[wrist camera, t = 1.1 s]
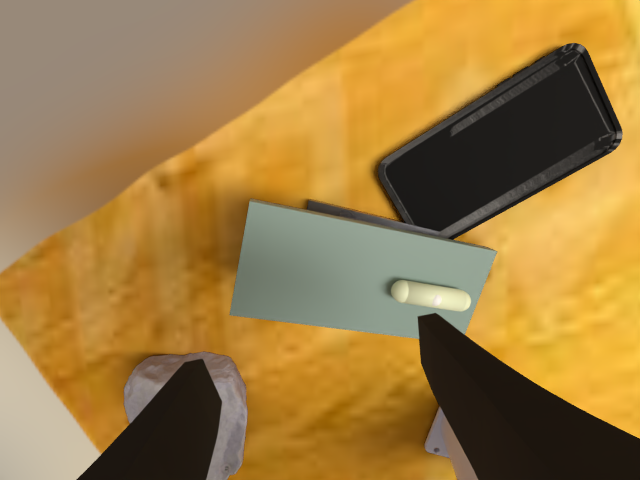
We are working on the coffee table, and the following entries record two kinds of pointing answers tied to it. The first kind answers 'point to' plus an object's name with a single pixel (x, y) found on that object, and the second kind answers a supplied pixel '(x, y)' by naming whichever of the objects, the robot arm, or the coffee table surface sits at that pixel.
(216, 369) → the stone block
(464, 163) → the phone
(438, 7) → the coffee table surface
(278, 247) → the plate
